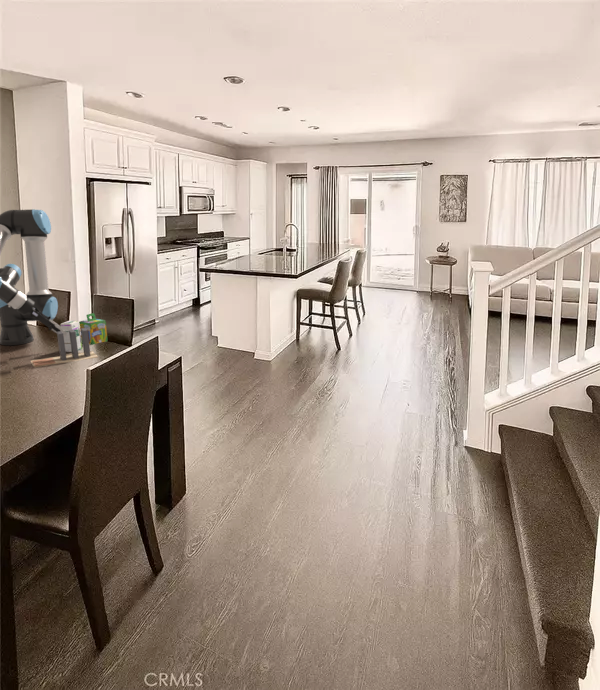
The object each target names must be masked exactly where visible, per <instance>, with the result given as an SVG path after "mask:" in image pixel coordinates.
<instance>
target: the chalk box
mask: <svg viewBox="0 0 600 690" xmlns="http://www.w3.org/2000/svg"><path fill="white" fill-rule="evenodd" d="M90 317H92V318H90ZM78 322H79V328H80V335H81V342H82V334H81V329H82V328H85V329H87V331H88V339H89V345H96V344H100V343H106V342H108V331H107V322H106V320H105V319H100V318H96V314H95V313H88V314H86V319H84V320H80V321H78ZM82 345H83V342H82Z"/></svg>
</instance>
